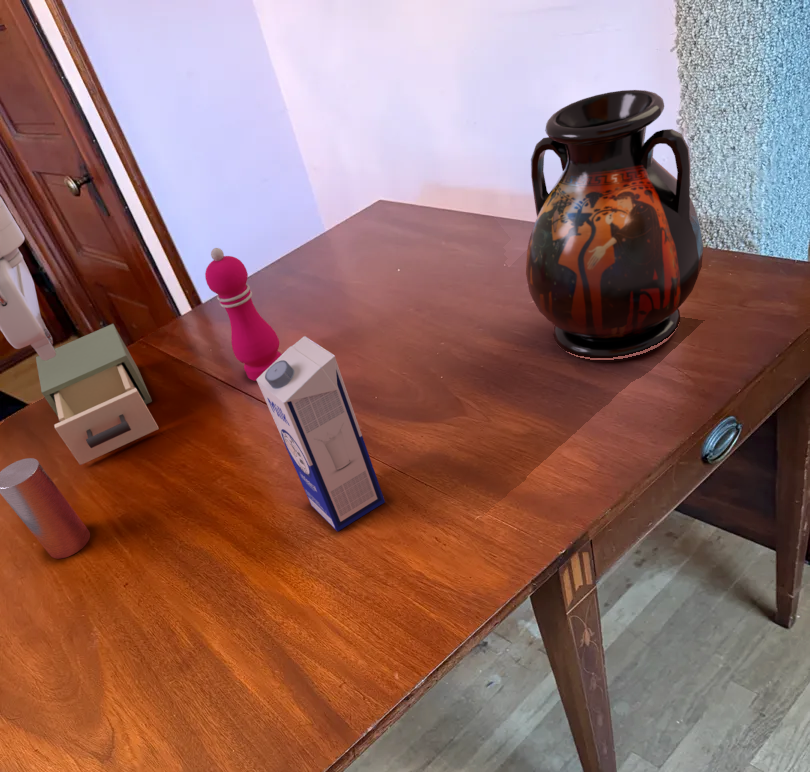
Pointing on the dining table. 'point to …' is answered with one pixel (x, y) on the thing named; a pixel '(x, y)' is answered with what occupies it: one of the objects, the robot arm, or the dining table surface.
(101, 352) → the cabinet
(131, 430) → the drawer
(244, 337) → the pepper mill
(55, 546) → the can
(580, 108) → the amphora vase
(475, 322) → the dining table surface
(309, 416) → the milk carton
